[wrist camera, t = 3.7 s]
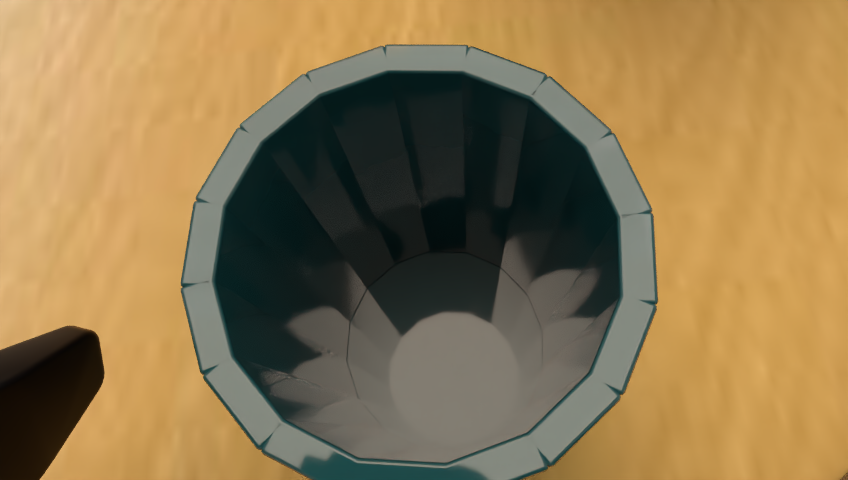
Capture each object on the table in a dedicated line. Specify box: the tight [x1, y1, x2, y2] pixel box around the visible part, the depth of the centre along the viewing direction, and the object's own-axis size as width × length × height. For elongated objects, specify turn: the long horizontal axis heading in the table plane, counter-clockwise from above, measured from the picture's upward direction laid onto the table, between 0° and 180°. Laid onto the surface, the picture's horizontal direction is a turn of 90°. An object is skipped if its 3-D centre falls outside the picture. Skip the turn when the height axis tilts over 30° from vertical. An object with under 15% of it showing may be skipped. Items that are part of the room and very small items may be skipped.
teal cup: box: [181, 45, 658, 480], centre depth 14 cm, size 6×6×10 cm
